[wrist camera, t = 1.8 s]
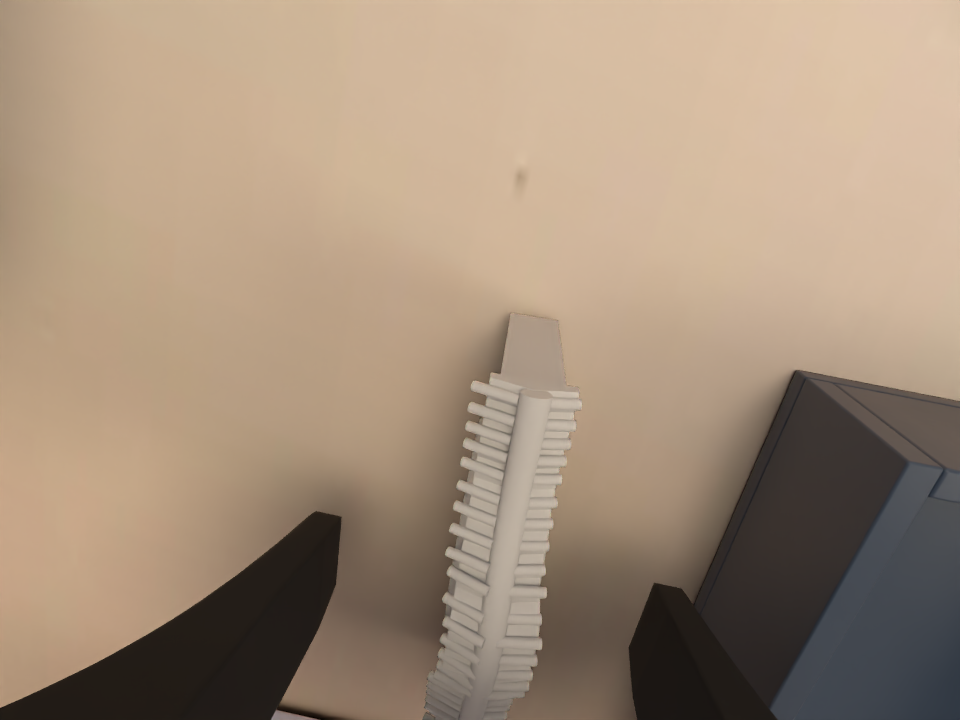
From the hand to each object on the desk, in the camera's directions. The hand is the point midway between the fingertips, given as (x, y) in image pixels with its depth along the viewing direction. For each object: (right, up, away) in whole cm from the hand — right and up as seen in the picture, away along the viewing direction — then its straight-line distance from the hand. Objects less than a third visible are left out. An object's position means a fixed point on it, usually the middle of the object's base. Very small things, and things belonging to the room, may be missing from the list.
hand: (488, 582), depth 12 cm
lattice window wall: (0, +1, +3) cm, 3 cm away
